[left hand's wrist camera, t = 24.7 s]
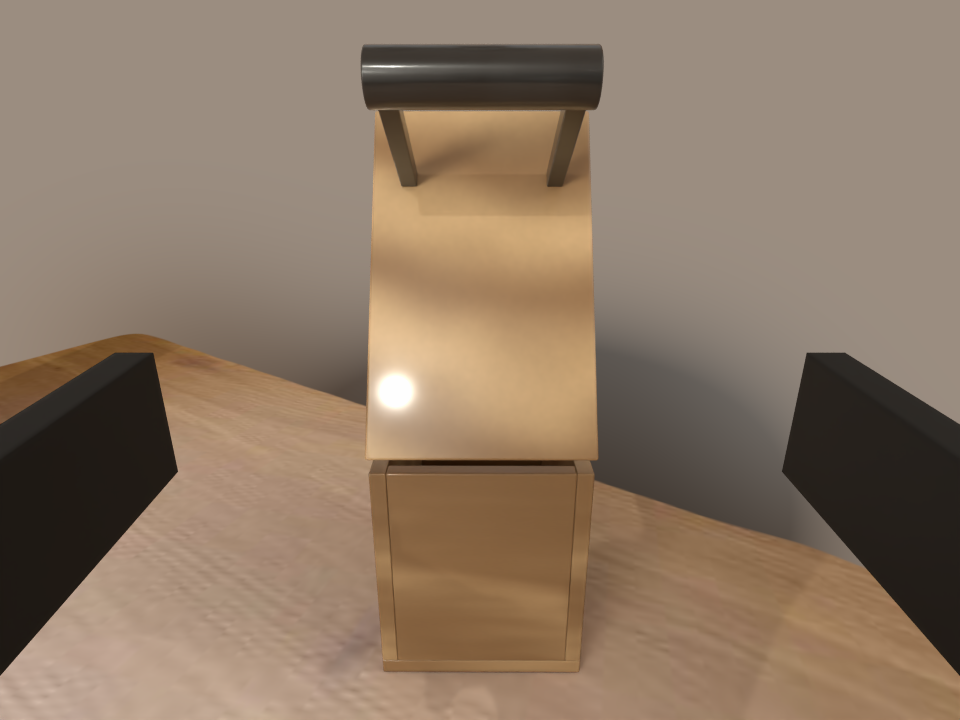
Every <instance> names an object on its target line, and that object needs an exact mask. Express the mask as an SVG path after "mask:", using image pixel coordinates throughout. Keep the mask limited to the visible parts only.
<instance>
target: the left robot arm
mask: <svg viewBox="0 0 960 720" xmlns="http://www.w3.org/2000/svg"><path fill="white" fill-rule="evenodd" d="M177 472H178V469H177V465H176V460H175V455H174V450H173V445H172V441H171V436H170V431H169V426H168V421H167V417H166V412H165V407H164V402H163V398H162V393H161V388H160V383H159V378H158V374H157V369H156V364H155V359H154V354H153V353H114V354H112V355H111V356H109V357H107V358H106V359H104V360H103V361H101V362H99V363H98V364H96V365H95V366H93V367H91V368H90V369H88V370H87V371H85V372H83V373H82V374H80V375H79V376H77V377H75V378H74V379H72V380H71V381H69V382H67V383H66V384H64V385H63V386H61V387H59V388H58V389H56V390H55V391H53V392H51V393H50V394H48V395H47V396H45V397H43V398H42V399H40V400H39V401H37V402H35V403H34V404H32V405H31V406H29V407H27V408H26V409H24V410H23V411H21V412H19V413H18V414H16V415H15V416H13V417H11V418H10V419H8V420H7V421H5V422H3V423H2V424H0V675H1V674H2V673H3V672H4V671H5V670H6V669H7V667H8V666H9V665H10V664H11V663H12V662H13V660H14V659H15V658H16V657H17V656H18V655H19V654H20V652H21V651H22V650H23V649H24V648H25V647H26V646H27V644H28V643H29V642H30V641H31V640H32V639H33V638H34V636H35V635H36V634H37V633H38V632H39V631H40V629H41V628H42V627H43V626H44V625H45V624H46V623H47V621H48V620H49V619H50V618H51V617H52V616H53V615H54V613H55V612H56V611H57V610H58V609H59V608H60V606H61V605H62V604H63V603H64V602H65V601H66V600H67V598H68V597H69V596H70V595H71V594H72V593H73V592H74V590H75V589H76V588H77V587H78V586H79V585H80V584H81V582H82V581H83V580H84V579H85V578H86V577H87V575H88V574H89V573H90V572H91V571H92V570H93V569H94V567H95V566H96V565H97V564H98V563H99V562H100V561H101V559H102V558H103V557H104V556H105V555H106V554H107V553H108V551H109V550H110V549H111V548H112V547H113V546H114V544H115V543H116V542H117V541H118V540H119V539H120V538H121V536H122V535H123V534H124V533H125V532H126V531H127V530H128V528H129V527H130V526H131V525H132V524H133V523H134V522H135V520H136V519H137V518H138V517H139V516H140V515H141V513H142V512H143V511H144V510H145V509H146V508H147V507H148V505H149V504H150V503H151V502H152V501H153V500H154V499H155V497H156V496H157V495H158V494H159V493H160V492H161V491H162V489H163V488H164V487H165V486H166V485H167V484H168V482H169V481H170V480H171V479H172V478H173V477H174V476H175V474H176V473H177ZM782 472H783V473H784V474H785V476H786V477H787V478H788V479H789V480H790V481H791V482H792V484H793V485H794V486H795V487H796V488H797V489H798V491H799V492H800V493H801V494H802V495H803V496H804V497H805V498H806V500H807V501H808V502H809V503H810V504H811V505H812V507H813V508H814V509H815V510H816V511H817V512H818V513H819V515H820V516H821V517H822V518H823V519H824V520H825V521H826V523H827V524H828V525H829V526H830V527H831V528H832V530H833V531H834V532H835V533H836V534H837V535H838V536H839V538H840V539H841V540H842V541H843V542H844V543H845V544H846V546H847V547H848V548H849V549H850V550H851V551H852V553H853V554H854V555H855V556H856V557H857V558H858V559H859V561H860V562H861V563H862V564H863V565H864V566H865V567H866V569H867V570H868V571H869V572H870V573H871V574H872V575H873V577H874V578H875V579H876V580H877V581H878V582H879V584H880V585H881V586H882V587H883V588H884V589H885V590H886V592H887V593H888V594H889V595H890V596H891V597H892V598H893V600H894V601H895V602H896V603H897V604H898V605H899V606H900V608H901V609H902V610H903V611H904V612H905V613H906V615H907V616H908V617H909V618H910V619H911V620H912V621H913V623H914V624H915V625H916V626H917V627H918V628H919V629H920V631H921V632H922V633H923V634H924V635H925V636H926V638H927V639H928V640H929V641H930V642H931V643H932V644H933V646H934V647H935V648H936V649H937V650H938V651H939V652H940V654H941V655H942V656H943V657H944V658H945V659H946V660H947V662H948V663H949V664H950V665H951V666H952V667H953V669H954V670H955V671H956V672H957V673H958V674H959V675H960V424H958V423H956V422H955V421H953V420H952V419H950V418H949V417H947V416H945V415H944V414H942V413H940V412H939V411H937V410H936V409H934V408H933V407H931V406H929V405H928V404H926V403H925V402H923V401H921V400H920V399H918V398H916V397H915V396H913V395H912V394H910V393H909V392H907V391H905V390H904V389H902V388H901V387H899V386H897V385H896V384H894V383H893V382H891V381H889V380H888V379H886V378H884V377H883V376H881V375H880V374H878V373H877V372H875V371H873V370H872V369H870V368H869V367H867V366H865V365H864V364H862V363H861V362H859V361H857V360H856V359H854V358H852V357H851V356H849V355H848V354H846V353H807V354H806V359H805V364H804V369H803V374H802V378H801V383H800V388H799V393H798V398H797V402H796V407H795V412H794V417H793V422H792V426H791V431H790V436H789V441H788V445H787V450H786V455H785V460H784V465H783V470H782Z"/></svg>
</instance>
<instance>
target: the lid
mask: <svg viewBox="0 0 960 720" xmlns="http://www.w3.org/2000/svg"><path fill="white" fill-rule="evenodd" d="M603 68H604V60H603V50H602V46H601V45H600V44H365V45H363V47H362V52H361V80H362V89H363V95H364V100H365V104H366V106H367V108H368V109H369V110H378V111H377V112H376V113H375V137H374V170H373V204H372V238H371V271H370V305H369V338H368V373H367V405H366V439H365V459H366V460H598V426H597V390H596V353H595V317H594V280H593V244H592V208H591V171H590V136H589V113H588V112H587V111H586V110H596V109H597V107H598V104H599V101H600V97H601V91H602V83H603ZM403 110H561V111H403Z"/></svg>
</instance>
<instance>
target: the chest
mask: <svg viewBox="0 0 960 720" xmlns="http://www.w3.org/2000/svg"><path fill="white" fill-rule="evenodd" d="M369 485H370V498H371V511H372V524H373V537H374V550H375V563H376V576H377V589H378V603H379V616H380V629H381V642H382V655H383V668H384V671H419V672H579V666H580V652H581V640H582V627H583V614H584V602H585V589H586V576H587V564H588V551H589V539H590V526H591V513H592V501H593V488H594V472H593V469H592V466H591V462H590V460H373V463H372V466H371V469H370V472H369Z"/></svg>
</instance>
